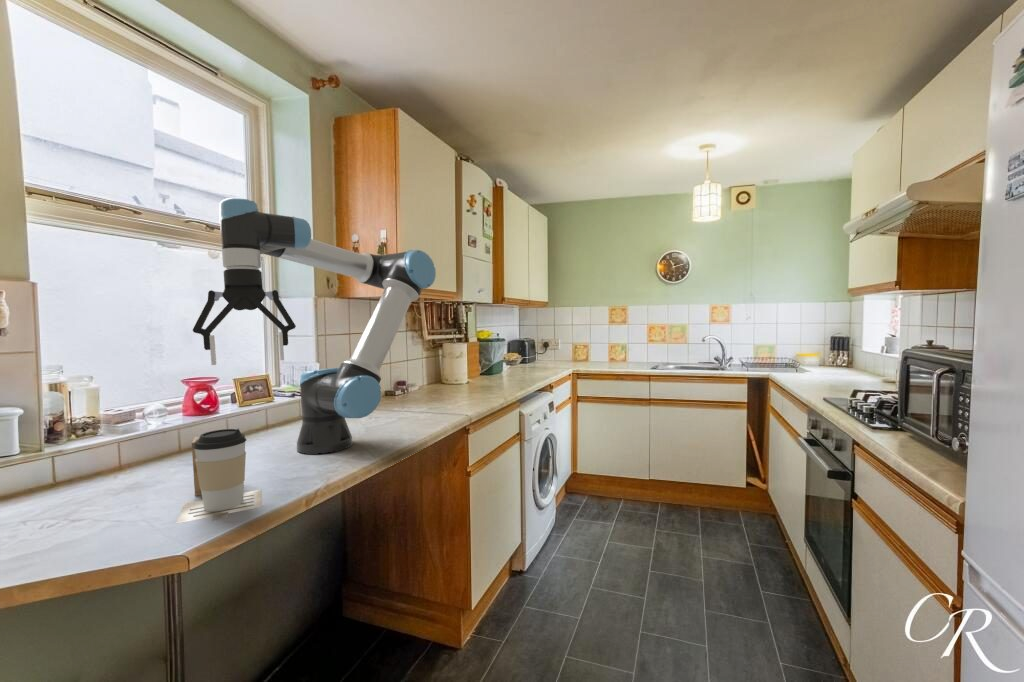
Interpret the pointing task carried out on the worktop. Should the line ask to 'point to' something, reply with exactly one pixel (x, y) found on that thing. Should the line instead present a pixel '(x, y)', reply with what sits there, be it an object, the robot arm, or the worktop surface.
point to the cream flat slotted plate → (197, 511)
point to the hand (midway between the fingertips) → (249, 362)
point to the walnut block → (195, 470)
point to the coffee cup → (221, 468)
